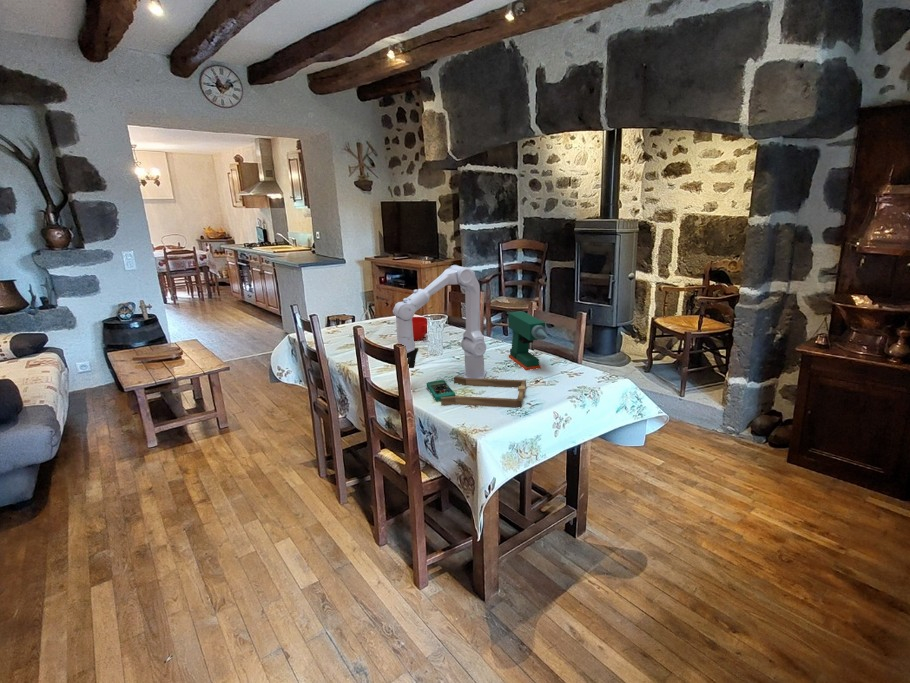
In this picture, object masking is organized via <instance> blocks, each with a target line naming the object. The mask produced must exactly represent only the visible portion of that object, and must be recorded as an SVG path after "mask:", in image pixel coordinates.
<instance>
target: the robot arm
mask: <svg viewBox="0 0 910 683" xmlns="http://www.w3.org/2000/svg"><path fill="white" fill-rule="evenodd" d="M447 285H459V286H460V287H461V288H462V289H463V290H464V293H465V295H464V296H465V299H464V300H465V331H464V332H463V333H462V339H461V343H460V346H461V349H462V350H463V351H464V352H463V353H464V369H465V370H464V371H465V372H464V375H463V377H464V378H480V379H485V376H486V374H487V373H488V371H487V370H485V359H484V358H485V357H484V356H485V353H486V352H487V345H486V342H485V336H484V335H483V333H482V332H481V297H480V296H481V291H480V290H481V287H480V282H479V281H478V279H477V276H476V271H474V270H472V269H471V268H470V267H465V266H460V265H458V264H453V265H450V266H449V267H448V268H446V269H444V271H443V272H442V273H441V274H440V275H439V276H437V278H435V279H434V280H432V281H431V283H430V284H428V285H427V286H426V287H425V288H418V289H413V293H412V294H410V295H409V296H408V297H404V298H402V300H403V301H398V302H397V303H395V305H394V307H393V309H392V313H393V315H394V316H395V322H396V324H395V325H396V336H397V338H396V339H397V345H398V344H402V345H404V346H406V349H407V358H408V364H409V368H408V369H414V368H415V364H416V360H417V358H416V357H417V354H418V353H419V348H418V347H416V341H414V337H413V323H412V318H413V317H415V313H416V312H417V311H419V310H420V309H422V307H423V306H425V305H426V304H428V303H429V302H430V297H431V296H433V295H434V294H436V293H437V292H438V291H440V290H442V289H443V288H445V287H446V286H447Z"/></svg>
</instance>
